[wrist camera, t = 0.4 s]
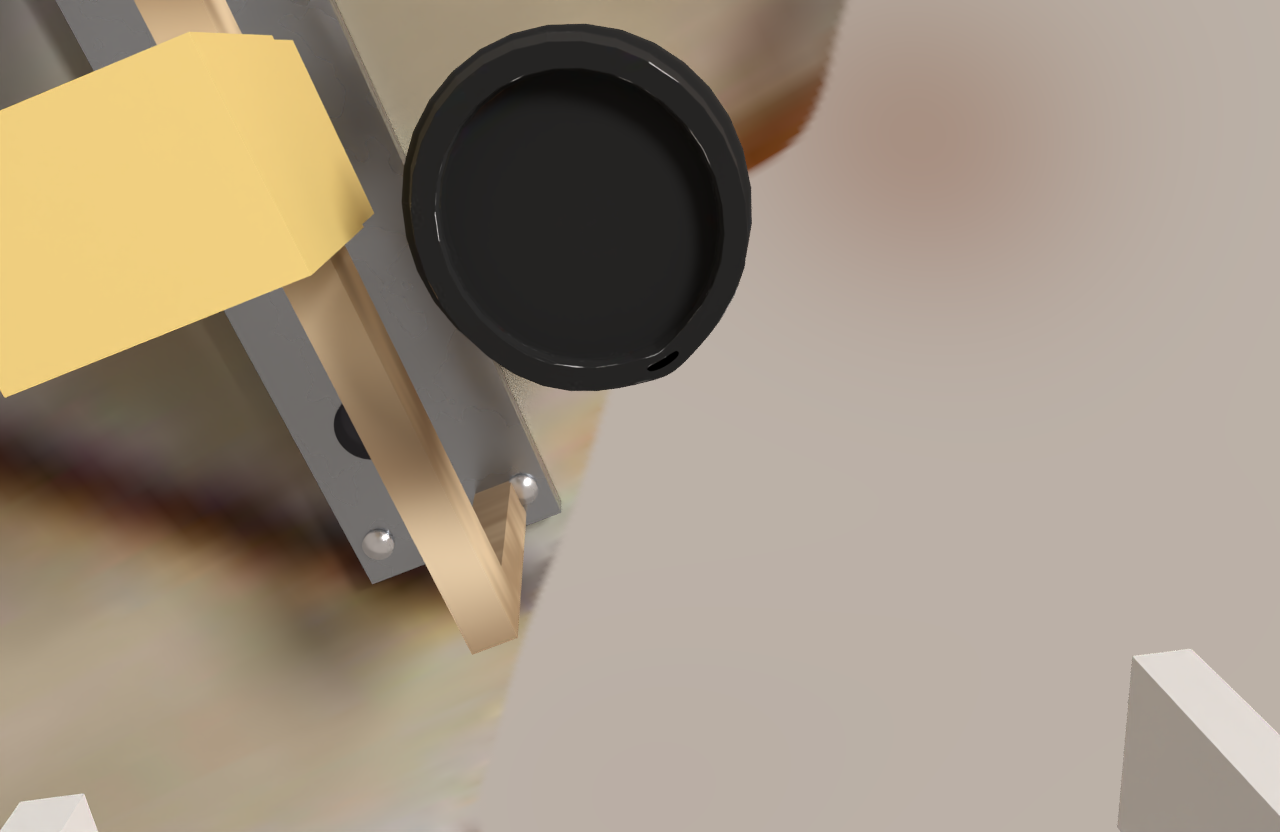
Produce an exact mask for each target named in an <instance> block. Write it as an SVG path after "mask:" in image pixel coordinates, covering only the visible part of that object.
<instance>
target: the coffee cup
mask: <svg viewBox="0 0 1280 832" xmlns="http://www.w3.org/2000/svg"><path fill="white" fill-rule="evenodd" d="M401 203H402V210H403V218H404V226H405V233H406V239H407V242H408V245H409V248H410V251H411V254H412V257H413V260H414V263H415V266H416V270H417V272H418V274H419V276H420V277H421V279H422V281H423V283H424V285H425V287H426V288H427V290H428V292H429V294H430V296H431V297H432V299H433V301H434V302H435V304H436V305H437V306H438V307H439V308H440V310H441V311H442V312H443V313H444V314H445V316H446V317H447V318H448V319H449V320H450V322H451V323H452V324H453V325H454V326H455V328H456V329H458V330H459V331H460V332H461V333H462V334H464V335H465V336H466V337H467V338H468V339H469V340H470V341H471V342H472V343H473V344H474V345H476V346H477V347H478V348H479V349H480V350H481V351H482V352H483V353H484V354H486V355H487V356H488V357H489V358H491V359H492V360H494V361H495V362H497V363H498V364H500V365H501V366H503V367H505V368H506V369H508V370H509V371H511V372H512V373H514V374H515V375H518V376H520V377H523V378H525V379H528V380H530V381H533V382H535V383H537V384H540V385H542V386H547V387H552V388H558V389H563V390H569V391H599V390H607V389H615V388H621V387H626V386H630V385H636V384H639V383H643V382H648V381H651V380H655V379H658V378H661V377H664V376H666V375H668V374H670V373H671V372H673V371H675V370H676V369H677V368H678V367H680V366H681V365H682V364H683V363H684V362H685V361H686V360H687V359H688V358H689V357H690V355H692V354H693V353H694V351H695V350H696V349H697V348H698V347H699V346H700V345H701V344H702V343H703V341H704V340H705V339H706V338H707V337H708V336H709V334H710V333H711V332H712V330H713V329H714V328H715V326H716V325H717V324H718V322H719V321H720V320H721V318H722V317H723V315H724V313H725V311H726V310H727V308H728V306H729V304H730V303H731V301H732V299H733V297H734V295H735V293H736V290H737V287H738V284H739V281H740V278H741V276H742V273H743V270H744V266H745V258H746V253H747V247H748V242H749V236H750V230H751V224H752V218H751V186H750V181H749V176H748V171H747V166H746V161H745V156H744V152H743V148H742V146H741V143H740V141H739V139H738V136H737V134H736V131H735V129H734V126H733V124H732V121H731V119H730V117H729V115H728V114H727V112H726V111H725V109H724V108H723V106H722V105H721V103H720V102H719V100H718V99H717V97H716V96H715V94H714V93H713V92H712V90H711V89H710V87H709V86H708V85H707V84H706V83H705V82H704V81H703V80H702V79H701V78H700V77H699V76H698V75H697V74H696V73H695V72H694V71H692V70H691V69H690V68H689V67H688V66H687V65H686V64H685V63H684V62H683V61H681V60H680V59H678V58H677V57H675V56H674V55H672V54H671V53H669V52H668V51H666V50H665V49H663V48H661V47H660V46H658V45H657V44H655V43H653V42H651V41H648V40H646V39H643V38H641V37H638V36H636V35H633V34H631V33H628V32H626V31H623V30H620V29H614V28H607V27H601V26H595V25H589V24H564V25H545V26H541V27H537V28H533V29H529V30H525V31H521V32H517V33H513V34H510V35H508V36H506V37H504V38H502V39H500V40H498V41H496V42H494V43H492V44H490V45H488V46H486V47H484V48H482V49H480V50H479V51H477V52H476V53H475V54H474V55H472V56H471V57H470V58H469V59H467V60H466V61H465V62H464V63H463V64H461V65H460V66H459V67H458V68H456V69H455V70H454V71H453V72H452V73H451V74H450V75H449V76H448V78H447V79H446V80H445V81H444V83H443V84H442V85H441V86H440V88H439V89H438V90H437V91H436V93H435V94H434V95H433V96H432V97H431V99H430V100H429V102H428V104H427V106H426V108H425V110H424V112H423V114H422V116H421V118H420V119H419V121H418V123H417V125H416V127H415V129H414V131H413V134H412V138H411V142H410V145H409V149H408V152H407V156H406V160H405V163H404V169H403V185H402V201H401Z"/></svg>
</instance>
